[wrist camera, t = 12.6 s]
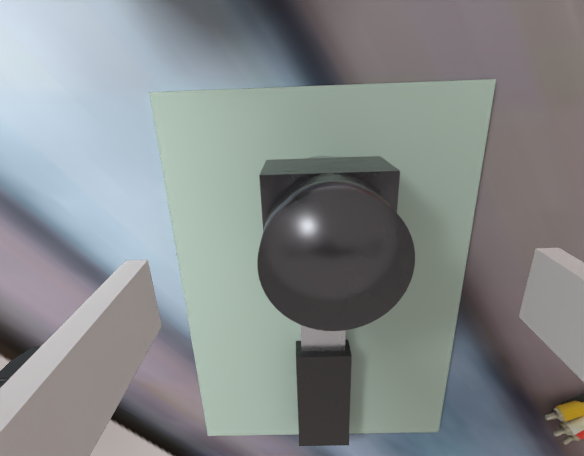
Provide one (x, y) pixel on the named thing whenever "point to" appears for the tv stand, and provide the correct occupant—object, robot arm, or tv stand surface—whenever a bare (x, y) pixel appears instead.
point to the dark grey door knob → (333, 240)
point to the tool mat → (249, 228)
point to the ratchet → (323, 385)
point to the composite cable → (569, 419)
